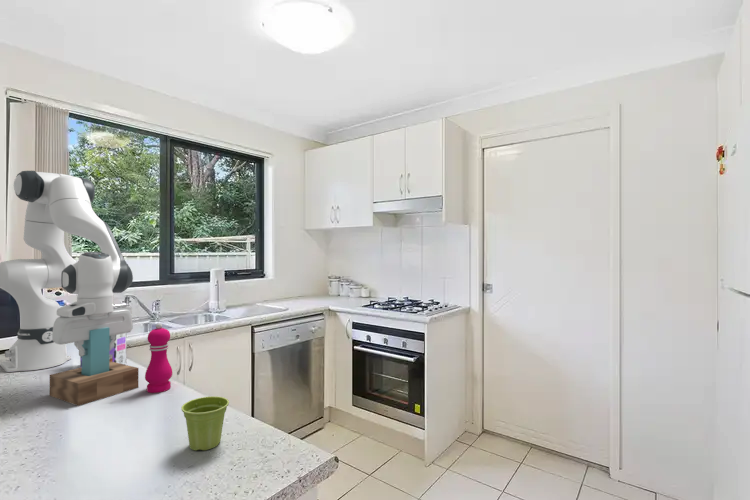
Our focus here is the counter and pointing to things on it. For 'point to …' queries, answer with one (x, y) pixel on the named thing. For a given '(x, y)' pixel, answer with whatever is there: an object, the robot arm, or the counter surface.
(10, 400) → the counter surface
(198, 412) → the plant pot
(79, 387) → the wooden holder
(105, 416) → the counter surface
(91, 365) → the teal rectangular block
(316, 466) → the counter surface
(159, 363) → the pepper mill
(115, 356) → the candy box
